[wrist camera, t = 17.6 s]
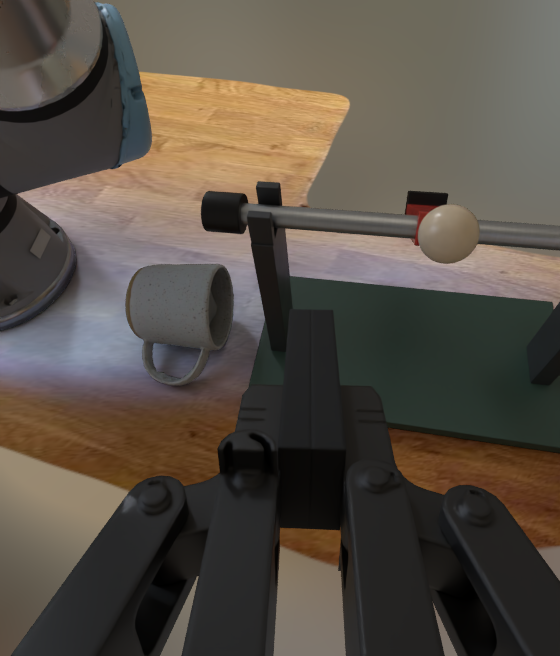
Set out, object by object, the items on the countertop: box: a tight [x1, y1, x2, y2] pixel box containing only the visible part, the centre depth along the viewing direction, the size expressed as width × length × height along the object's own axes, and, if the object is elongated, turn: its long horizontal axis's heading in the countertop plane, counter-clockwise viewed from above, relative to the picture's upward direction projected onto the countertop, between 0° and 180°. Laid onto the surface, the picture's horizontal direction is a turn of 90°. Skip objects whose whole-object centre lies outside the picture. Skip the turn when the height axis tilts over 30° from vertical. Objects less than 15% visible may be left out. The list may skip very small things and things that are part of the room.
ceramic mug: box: [125, 264, 234, 386], centre depth 41 cm, size 11×8×8 cm
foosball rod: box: [201, 191, 560, 264], centre depth 31 cm, size 26×4×16 cm
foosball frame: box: [247, 181, 560, 453], centre depth 34 cm, size 26×14×17 cm, turn 79°
